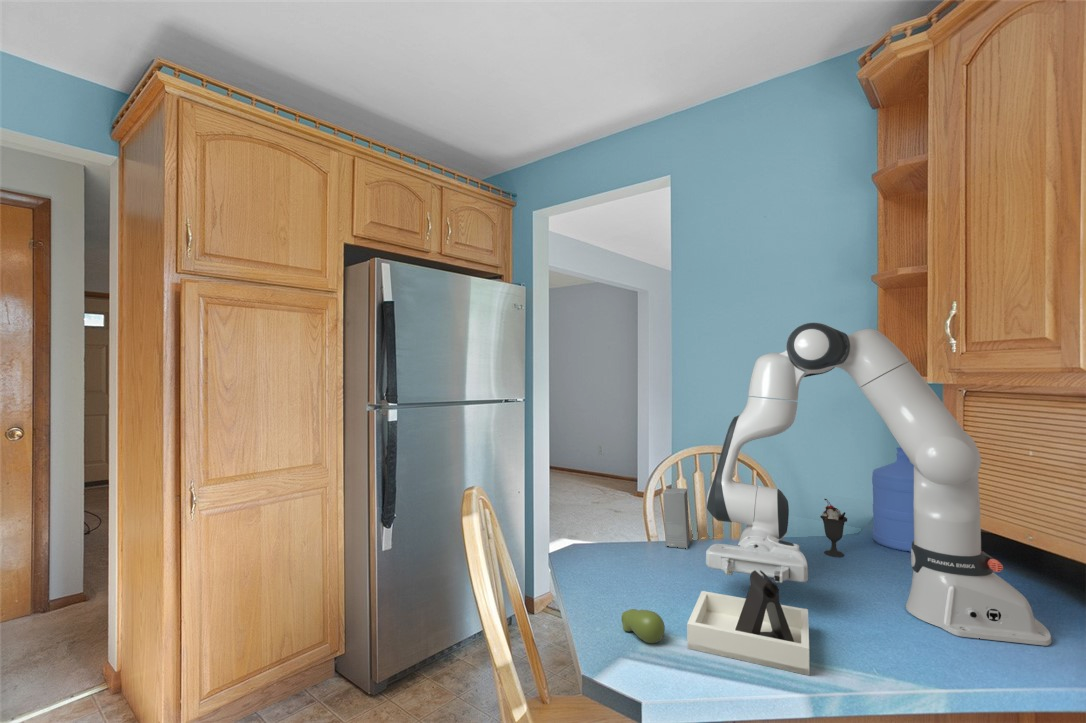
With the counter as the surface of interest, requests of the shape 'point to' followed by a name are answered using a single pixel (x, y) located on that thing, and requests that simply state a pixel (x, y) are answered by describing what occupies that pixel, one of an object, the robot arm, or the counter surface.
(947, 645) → the counter surface
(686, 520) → the skincare box
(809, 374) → the robot arm
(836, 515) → the sundae
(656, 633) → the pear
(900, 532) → the water jug
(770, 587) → the phone stand
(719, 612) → the tray
